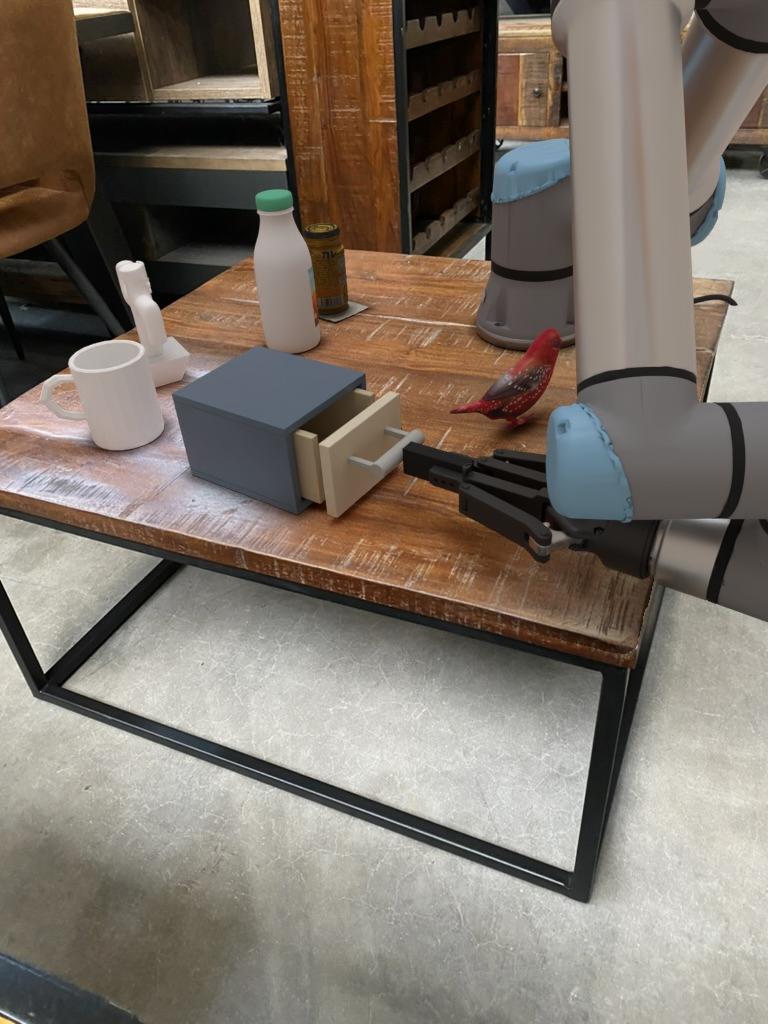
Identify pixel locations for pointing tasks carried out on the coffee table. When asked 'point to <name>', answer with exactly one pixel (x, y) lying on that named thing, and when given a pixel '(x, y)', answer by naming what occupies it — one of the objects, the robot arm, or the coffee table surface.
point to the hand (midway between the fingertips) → (407, 457)
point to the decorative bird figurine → (520, 383)
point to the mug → (112, 394)
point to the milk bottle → (284, 277)
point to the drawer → (350, 448)
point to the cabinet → (257, 420)
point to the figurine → (151, 325)
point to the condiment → (329, 272)
